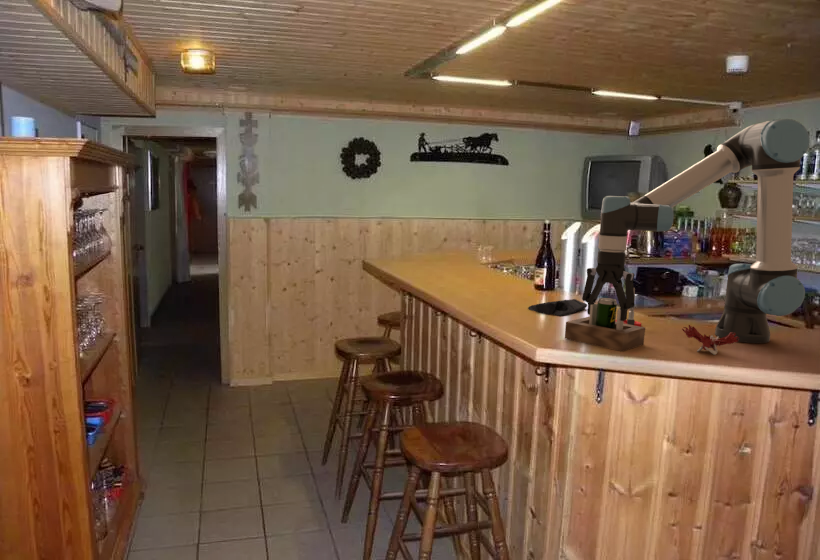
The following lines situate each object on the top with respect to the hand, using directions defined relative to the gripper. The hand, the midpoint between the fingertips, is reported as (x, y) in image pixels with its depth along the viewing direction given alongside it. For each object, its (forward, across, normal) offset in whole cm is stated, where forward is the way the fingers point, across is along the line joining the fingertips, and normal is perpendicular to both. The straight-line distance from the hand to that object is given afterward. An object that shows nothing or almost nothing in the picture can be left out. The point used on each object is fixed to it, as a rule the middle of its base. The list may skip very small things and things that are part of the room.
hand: (605, 328), depth 183 cm
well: (+4, 0, 0) cm, 4 cm away
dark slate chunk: (+5, +35, -31) cm, 47 cm away
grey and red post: (+4, +7, -29) cm, 30 cm away
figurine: (+4, -24, -14) cm, 28 cm away
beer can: (+4, 0, 0) cm, 4 cm away
